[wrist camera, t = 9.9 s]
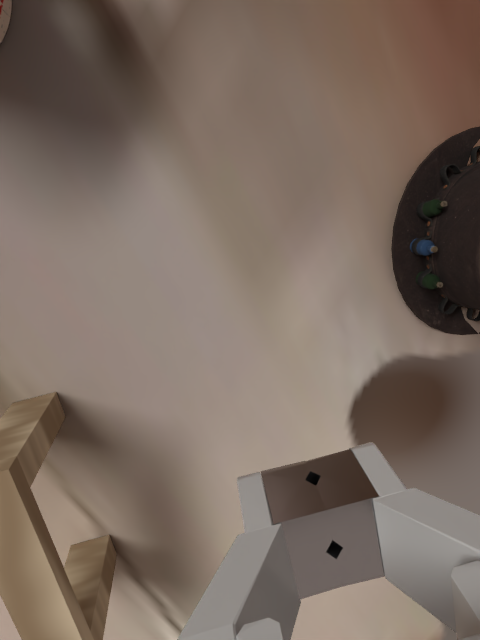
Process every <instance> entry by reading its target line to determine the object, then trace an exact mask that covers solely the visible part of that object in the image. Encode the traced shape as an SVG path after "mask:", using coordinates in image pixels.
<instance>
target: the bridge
mask: <svg viewBox="0 0 480 640" xmlns="http://www.w3.org/2000/svg"><path fill="white" fill-rule="evenodd" d="M64 419H65V414H64V411H63V409H62V406H61V403H60V401H59V398H58V395H57V393H56V392H54V393H50V394H46V395H42V396H38V397H34V398H31V399H27V400H23V401H19V402H15V403H12V405H11V406H10V407H9V409H8V410H7V411H6V412H5V414H4V415H3V416H2V417H1V419H0V595H1V597H2V600H3V602H4V604H5V606H6V608H7V610H8V612H9V614H10V616H11V618H12V620H13V622H14V624H15V626H16V628H17V630H18V633H19V635H20V637H21V639H22V640H103V635H104V629H105V623H106V617H107V611H108V605H109V599H110V593H111V587H112V581H113V575H114V569H115V563H116V557H117V554H116V551H115V549H114V546H113V543H112V541H111V538H110V535H107V536H103V537H99V538H96V539H92V540H89V541H85V542H81V543H78V544H74V545H71V547H70V550H69V553H68V557H67V560H66V563H65V567H63V565H62V562H61V560H60V558H59V555H58V553H57V551H56V548H55V546H54V543H53V541H52V539H51V536H50V534H49V532H48V529H47V527H46V524H45V522H44V520H43V517H42V515H41V513H40V510H39V508H38V505H37V503H36V501H35V498H34V496H33V493H32V491H31V489H30V487H31V485H32V483H33V481H34V479H35V477H36V475H37V473H38V471H39V469H40V467H41V465H42V463H43V461H44V459H45V457H46V455H47V453H48V451H49V449H50V447H51V445H52V443H53V441H54V439H55V437H56V435H57V433H58V431H59V429H60V427H61V425H62V423H63V421H64Z"/></svg>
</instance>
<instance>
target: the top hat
mask: <svg viewBox="0 0 480 640" xmlns="http://www.w3.org/2000/svg"><path fill="white" fill-rule="evenodd" d="M479 139H480V127H475V128H471V129H468V130H466V131H464V132H461V133H459V134H457V135H454V136H452V137H450V138H449V139H447V140H446V141H445V142H443V143H442V144H441V145H439V146H438V147H437V148H435V149H434V150H433V151H432V152H431V153H430V154H429V155H428V156H427V158H426V159H425V160H424V161H423V162H422V163H421V164H420V165H419V167H418V168H417V170H416V171H415V173H414V175H413V176H412V178H411V179H410V181H409V182H408V184H407V186H406V189H405V191H404V193H403V196H402V198H401V201H400V203H399V206H398V210H397V214H396V218H395V222H394V226H393V237H392V248H391V249H392V260H393V270H394V274H395V278H396V281H397V285H398V288H399V290H400V292H401V294H402V296H403V298H404V300H405V302H406V304H407V305H408V307H409V308H410V309H411V310H412V311H413V313H414V314H415V315H416V316H417V317H418V318H420V319H421V320H422V321H424V322H425V323H426V324H428V325H429V326H431V327H433V328H436V329H438V330H441V331H443V332H446V333H453V334H460V335H466V334H478V333H477V332H476V331H475V330H474V329H473V328H472V327H471V326H470V324H469V323H468V322H467V321H466V320H465V319H464V316H463V313H462V310H461V306H462V307H463V306H464V307H467V308H468V311H467V318H468V319H470V320H474V321H479V320H480V312H479V315H478V316H477V318H475V319H472V313H473V308H474V309H480V162H477V159H476V153H477V150H478V149H479V148H480V146H477V147H475V148H473V147H474V145H475V144H476V143H477V142H478V140H479ZM472 149H473V150H472ZM470 155H471V163H470V164H469V165H468V166H467V163H468V160H469V157H470ZM479 334H480V333H479Z"/></svg>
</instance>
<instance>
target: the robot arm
mask: <svg viewBox="0 0 480 640" xmlns="http://www.w3.org/2000/svg"><path fill="white" fill-rule="evenodd" d="M261 475H262V477H261ZM262 479H263V481H262ZM263 484H264V485H263ZM237 485H238V492H239V498H240V505H241V511H242V518H243V525H244V531H245V533H243V534H239V535H238V536H237V537H236V539H235V541H234V542H233V544H232V546H231V548H230V549H229V551H228V553H227V555H226V556H225V558H224V560H223V561H222V563H221V565H220V567H219V568H218V570H217V572H216V573H215V575H214V577H213V579H212V580H211V582H210V584H209V586H208V587H207V589H206V591H205V592H204V594H203V596H202V598H201V599H200V601H199V603H198V605H197V606H196V608H195V610H194V611H193V613H192V615H191V617H190V618H189V620H188V622H187V623H186V625H185V627H184V629H183V630H182V632H181V634H180V636H179V637H178V639H177V640H290V639H291V635H292V632H293V628H294V625H295V621H296V617H297V614H298V610H299V607H300V603H301V601H300V599H303V598H306V597H309V596H313V595H316V594H319V593H322V592H326V591H329V590H332V589H335V588H339V587H342V586H346V585H351V584H355V583H359V582H363V581H367V580H371V579H375V578H380V577H384V576H385V578H386V579H387V580H388V581H390V582H391V583H392V584H393V585H395V586H396V587H397V588H399V589H400V590H401V591H402V592H404V593H405V594H406V595H408V596H409V597H410V598H412V599H413V600H414V601H415V602H417V603H418V604H419V605H421V606H422V607H423V608H425V609H426V610H427V611H428V612H430V613H431V614H432V615H434V616H435V617H436V618H438V619H439V620H440V621H441V622H443V623H444V624H445V625H447V626H448V627H449V628H451V629H452V630H453V631H454V632H456V633H457V640H480V515H478V514H476V513H473V512H471V511H469V510H466V509H464V508H462V507H459V506H457V505H454V504H452V503H450V502H447V501H445V500H443V499H440V498H438V497H435V496H433V495H431V494H428V493H426V492H423V491H421V490H419V489H416V488H412V489H407V488H406V487H405V485H404V484H403V482H402V481H401V480H400V478H399V477H398V475H397V474H396V473H395V471H394V470H393V469H392V467H391V466H390V464H389V463H388V462H387V461H386V459H385V457H384V456H383V455H382V453H381V452H380V451H379V449H378V448H377V446H376V445H375V444H374V443H372V442H370V443H366V444H363V445H359V446H356V447H353V448H349V450H345V451H341V452H338V453H334V454H330V455H326V456H323V457H319V458H315V459H312V460H308V461H302V462H298V463H294V464H290V465H285V466H281V467H277V468H273V469H269V470H264V471H261V473H260V472H257V473H253V474H249V475H245V476H241V477H238V478H237Z"/></svg>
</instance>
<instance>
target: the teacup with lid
mask: <svg viewBox="0 0 480 640" xmlns="http://www.w3.org/2000/svg"><path fill="white" fill-rule="evenodd" d="M11 8H12V0H0V44H1V42H2V40H3V38H4V36H5V34H6V31H7V29H8V26H9V21H10V17H11Z"/></svg>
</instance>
